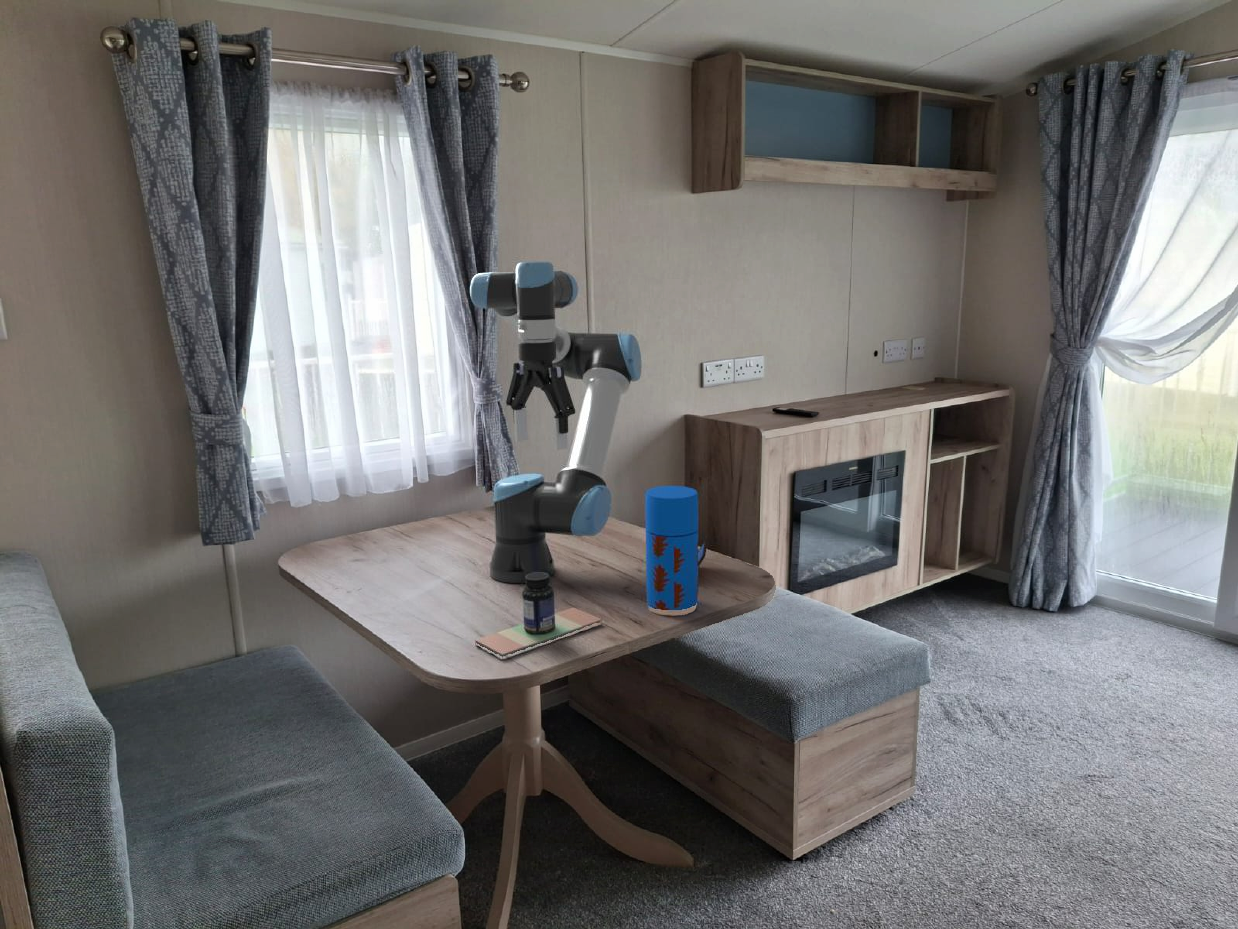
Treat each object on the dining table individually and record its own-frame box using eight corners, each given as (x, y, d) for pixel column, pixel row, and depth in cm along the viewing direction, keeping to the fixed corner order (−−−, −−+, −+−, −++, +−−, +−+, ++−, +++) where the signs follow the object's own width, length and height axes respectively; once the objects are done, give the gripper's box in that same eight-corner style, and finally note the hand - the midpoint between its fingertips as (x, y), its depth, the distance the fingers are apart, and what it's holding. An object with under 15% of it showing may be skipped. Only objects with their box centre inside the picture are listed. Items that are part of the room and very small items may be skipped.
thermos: (667, 594, 197) (666, 483, 192) (707, 605, 190) (708, 490, 185) (636, 609, 189) (634, 493, 184) (677, 621, 182) (677, 501, 177)
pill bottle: (556, 622, 179) (554, 570, 177) (554, 635, 173) (552, 580, 171) (525, 623, 179) (522, 571, 177) (522, 636, 173) (520, 581, 171)
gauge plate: (475, 645, 172) (475, 639, 172) (573, 612, 187) (573, 607, 187) (502, 660, 165) (502, 654, 165) (601, 624, 181) (601, 619, 181)
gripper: (486, 338, 187) (491, 439, 192) (560, 345, 169) (564, 456, 174) (516, 336, 192) (520, 434, 197) (591, 342, 174) (593, 450, 178)
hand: (540, 444), depth 185 cm, fingers open, 13 cm apart
